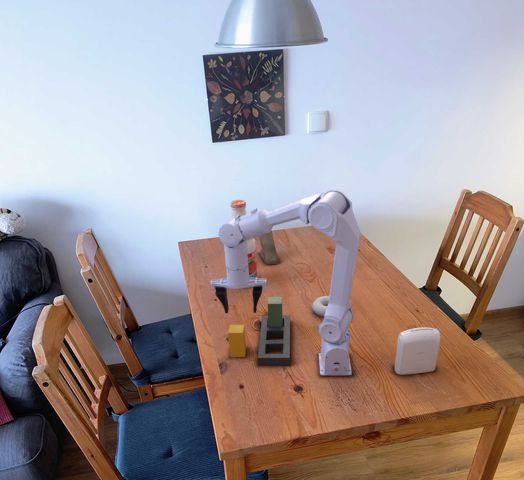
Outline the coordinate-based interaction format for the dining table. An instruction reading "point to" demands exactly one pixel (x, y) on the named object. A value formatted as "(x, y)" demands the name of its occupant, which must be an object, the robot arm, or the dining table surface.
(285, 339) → the peg stand
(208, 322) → the dining table surface
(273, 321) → the green peg
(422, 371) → the photo printer
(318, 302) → the donut
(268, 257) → the worn brown figurine
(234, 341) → the mustard peg
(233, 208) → the fruit juice
